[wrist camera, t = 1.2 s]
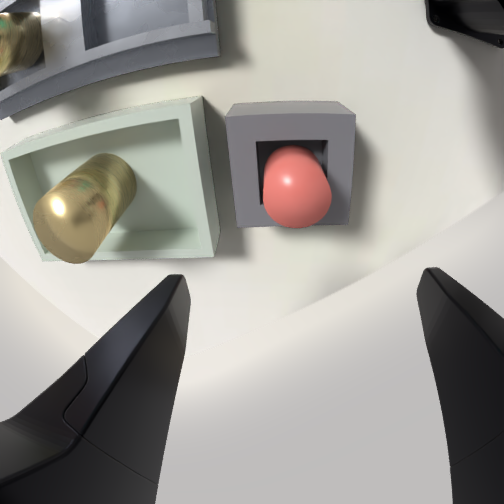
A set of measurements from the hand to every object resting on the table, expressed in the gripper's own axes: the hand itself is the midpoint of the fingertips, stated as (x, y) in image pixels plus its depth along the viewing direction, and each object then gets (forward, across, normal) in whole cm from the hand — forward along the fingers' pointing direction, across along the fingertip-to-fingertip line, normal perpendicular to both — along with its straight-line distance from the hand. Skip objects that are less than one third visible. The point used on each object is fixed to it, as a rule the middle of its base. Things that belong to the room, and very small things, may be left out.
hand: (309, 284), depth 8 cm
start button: (+8, 0, 0) cm, 8 cm away
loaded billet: (+11, +16, -11) cm, 23 cm away
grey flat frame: (+12, +12, -11) cm, 20 cm away
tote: (+12, +12, +1) cm, 17 cm away
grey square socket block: (+12, 0, 0) cm, 12 cm away
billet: (+11, +12, +1) cm, 17 cm away
